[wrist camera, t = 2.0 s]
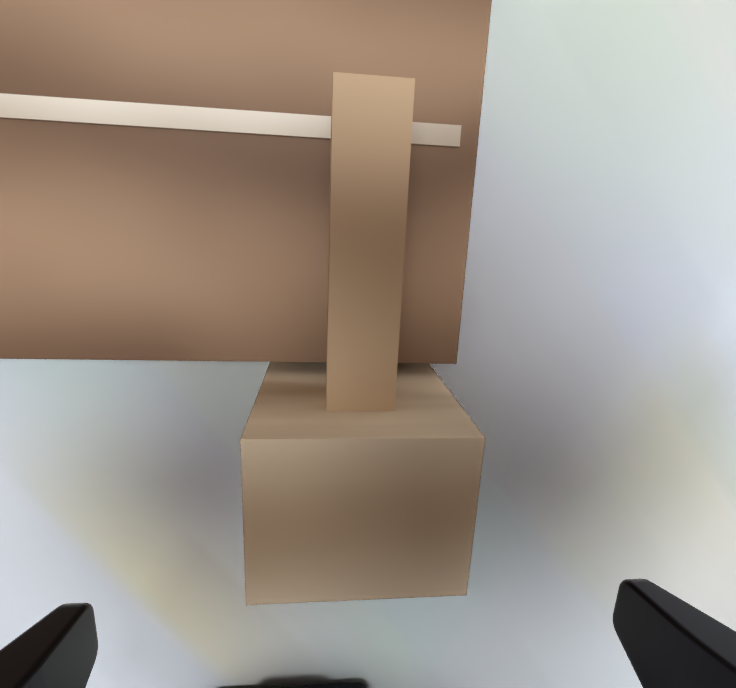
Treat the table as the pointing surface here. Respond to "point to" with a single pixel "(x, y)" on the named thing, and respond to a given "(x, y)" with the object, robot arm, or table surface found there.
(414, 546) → the marking gauge
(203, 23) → the walnut board
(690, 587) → the table surface
